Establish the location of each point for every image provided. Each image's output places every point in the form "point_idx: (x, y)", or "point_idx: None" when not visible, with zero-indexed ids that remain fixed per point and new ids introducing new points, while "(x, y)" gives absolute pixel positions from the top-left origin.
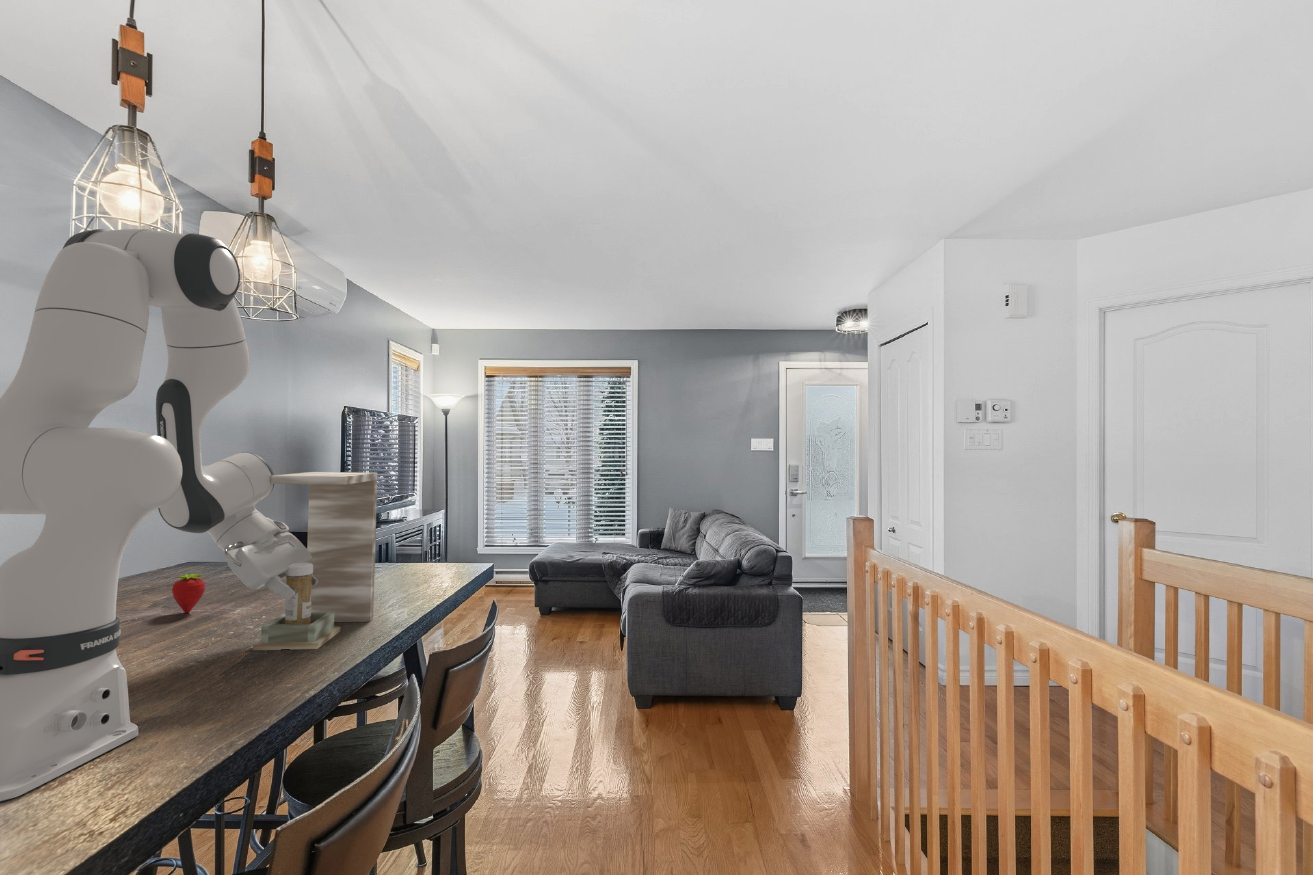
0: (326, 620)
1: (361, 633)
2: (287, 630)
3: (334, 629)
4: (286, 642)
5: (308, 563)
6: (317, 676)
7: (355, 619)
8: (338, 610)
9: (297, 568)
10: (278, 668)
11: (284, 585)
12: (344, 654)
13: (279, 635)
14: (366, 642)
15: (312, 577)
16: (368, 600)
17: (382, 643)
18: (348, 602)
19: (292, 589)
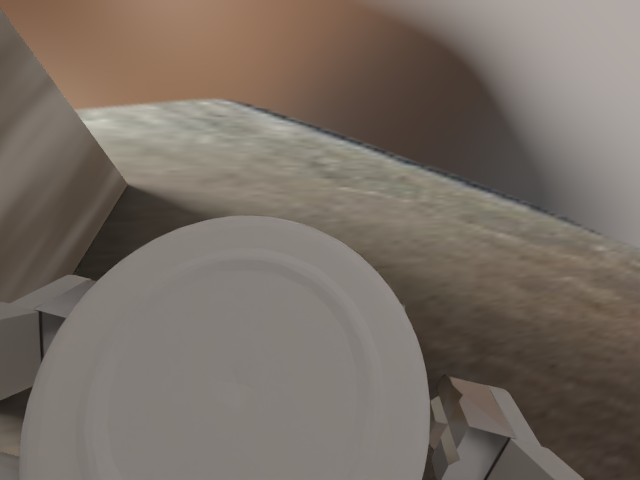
0: None
1: (265, 205)
2: None
3: None
4: None
5: (220, 260)
6: (625, 286)
7: (98, 220)
8: (40, 262)
9: (427, 386)
10: (572, 400)
11: (580, 478)
12: (461, 238)
13: None
14: (364, 193)
15: (69, 304)
16: (86, 140)
17: (383, 160)
18: (42, 210)
19: (495, 404)
